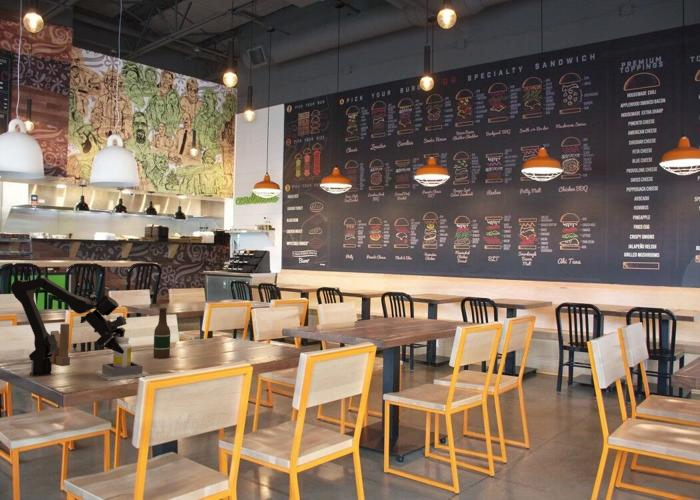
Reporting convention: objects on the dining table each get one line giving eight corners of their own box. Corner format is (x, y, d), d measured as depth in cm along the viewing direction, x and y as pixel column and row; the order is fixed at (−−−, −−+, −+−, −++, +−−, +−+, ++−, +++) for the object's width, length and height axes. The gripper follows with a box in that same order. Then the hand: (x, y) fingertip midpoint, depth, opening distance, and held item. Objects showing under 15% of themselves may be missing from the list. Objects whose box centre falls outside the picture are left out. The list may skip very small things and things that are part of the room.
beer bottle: (172, 357, 286) (174, 307, 286) (158, 359, 280) (159, 308, 281) (164, 355, 291) (166, 306, 292) (149, 357, 286) (151, 307, 286)
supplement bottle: (128, 367, 246) (129, 336, 246) (132, 369, 241) (133, 338, 241) (111, 368, 242) (112, 336, 242) (115, 371, 237) (116, 338, 237)
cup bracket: (108, 380, 230) (108, 370, 230) (95, 374, 242) (95, 363, 242) (148, 376, 240) (149, 366, 240) (134, 370, 253) (134, 360, 253)
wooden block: (57, 362, 267) (58, 321, 267) (70, 364, 261) (71, 323, 261) (49, 363, 264) (50, 322, 264) (61, 366, 258) (63, 324, 258)
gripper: (106, 312, 232) (134, 341, 233) (121, 308, 251) (147, 335, 251) (84, 331, 232) (112, 360, 232) (101, 326, 250) (127, 353, 251)
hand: (125, 351), depth 242 cm, fingers closed on supplement bottle, 7 cm apart
